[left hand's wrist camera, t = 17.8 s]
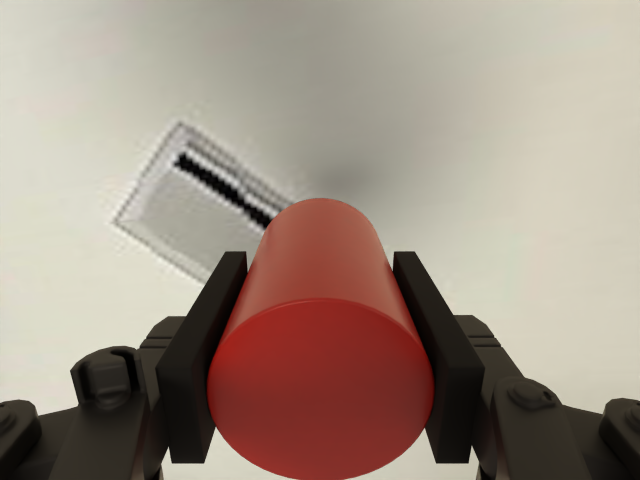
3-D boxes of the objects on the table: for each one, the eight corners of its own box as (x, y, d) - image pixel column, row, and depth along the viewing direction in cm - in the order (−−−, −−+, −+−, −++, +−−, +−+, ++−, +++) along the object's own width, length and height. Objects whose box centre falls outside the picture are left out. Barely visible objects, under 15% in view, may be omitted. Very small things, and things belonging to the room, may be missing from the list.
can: (268, 187, 16) (216, 279, 8) (394, 209, 17) (465, 320, 8) (252, 299, 18) (197, 467, 10) (366, 318, 19) (402, 495, 10)
